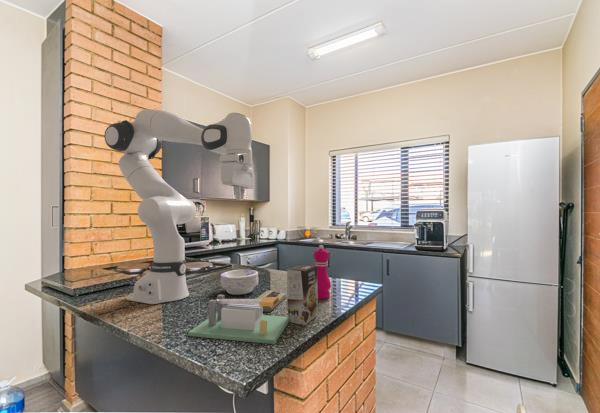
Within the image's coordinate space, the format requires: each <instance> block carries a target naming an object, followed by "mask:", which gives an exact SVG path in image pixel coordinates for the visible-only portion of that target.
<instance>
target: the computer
mask: <svg viewBox="0 0 600 413" xmlns="http://www.w3.org/2000/svg"><path fill="white" fill-rule="evenodd" d="M265 297H278V299H279V301H278V302H277V303H276V304H275V305H274V306H263V312H268V313H271V312H273V310H275V308H277V306H278V305H280V304H281V303H282V302H283V301H284V300H285V299H286V297H287V295H286V293H284V292H281V291H277V290H276V291H275V290H270V289H269V290H266V291H264V292H263V293H262V294H260V295H259V296H257V297H256V298H255V299H263V298H265Z"/></svg>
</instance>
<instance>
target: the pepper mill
mask: <svg viewBox="0 0 600 413" xmlns="http://www.w3.org/2000/svg"><path fill="white" fill-rule="evenodd" d="M329 258H330V254H329V251H328V250H327V249H325V248H324V245H322V244H320V245H318V248H317V249H316V250H315V251H314V252H313V259H314V260H315V261H314V263H315V264H314V266H317V292H318V299H320V300H326V299H329V298H330V297H331V296H330V294H331V293H330V291H329V290H331V287H332V283H331V280H330V277H329V275H328V271H327V270H328V265H329V264H328V263H329V261H328V260H329Z"/></svg>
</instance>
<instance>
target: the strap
mask: <svg viewBox="0 0 600 413" xmlns="http://www.w3.org/2000/svg"><path fill="white" fill-rule="evenodd" d="M215 300H216V305H217V304H225V305H228V304H259V306H274V305H275V304H276V303H277V302H278V301H279V299H278V297H265V298H263V299H256V298H225V299H221V298H216V299H215Z"/></svg>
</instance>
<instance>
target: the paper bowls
mask: <svg viewBox="0 0 600 413" xmlns="http://www.w3.org/2000/svg"><path fill="white" fill-rule="evenodd" d="M258 284H259V272H258V271H257V270H256V269H255V270H253V269H234V270H229V271H225V272H222V273H221V274H220V287H221V288H222V289H225V291H226V292H227V294H229V295H233V296H238V295H239V296H241V295H246V294H249V293H251V292H252V291H253V290H254V288H255V287H256V286H257V285H258Z"/></svg>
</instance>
